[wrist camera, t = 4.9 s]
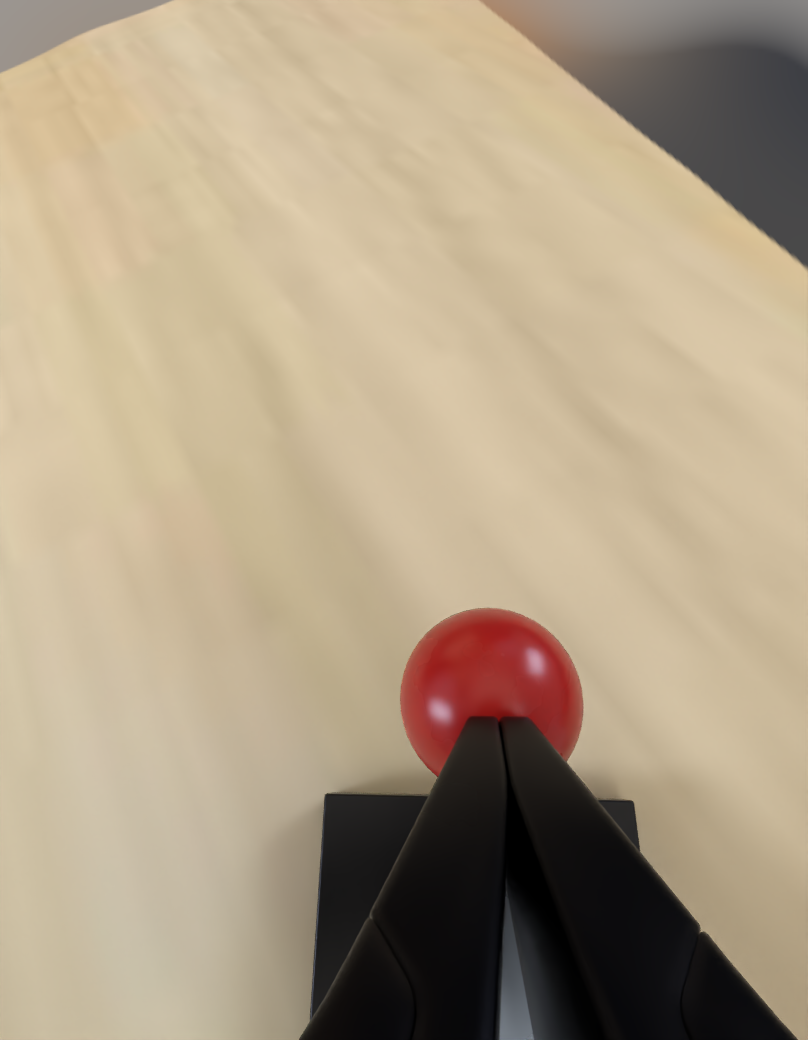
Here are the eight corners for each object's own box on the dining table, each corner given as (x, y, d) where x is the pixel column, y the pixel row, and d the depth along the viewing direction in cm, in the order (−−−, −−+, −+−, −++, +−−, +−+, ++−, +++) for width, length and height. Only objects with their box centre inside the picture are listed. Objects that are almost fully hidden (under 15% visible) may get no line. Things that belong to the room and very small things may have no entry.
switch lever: (407, 610, 11) (391, 605, 9) (560, 609, 11) (597, 604, 8) (408, 1274, 10) (388, 1564, 7) (593, 1292, 9) (658, 1600, 6)
